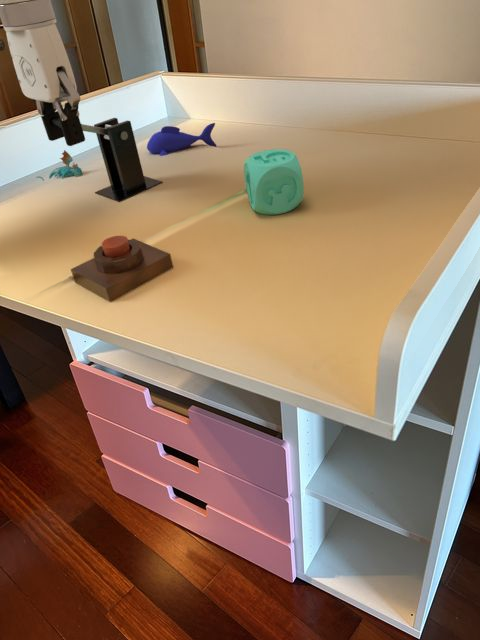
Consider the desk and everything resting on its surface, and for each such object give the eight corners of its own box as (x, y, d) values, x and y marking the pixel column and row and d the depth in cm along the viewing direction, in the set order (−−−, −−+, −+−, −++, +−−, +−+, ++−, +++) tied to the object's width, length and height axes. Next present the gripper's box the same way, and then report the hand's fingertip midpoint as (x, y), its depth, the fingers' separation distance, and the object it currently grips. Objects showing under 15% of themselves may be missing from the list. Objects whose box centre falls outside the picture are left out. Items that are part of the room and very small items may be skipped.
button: (114, 261, 77) (110, 250, 76) (100, 254, 79) (96, 243, 78) (135, 250, 78) (132, 239, 77) (121, 244, 81) (117, 233, 80)
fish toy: (151, 169, 119) (143, 141, 113) (148, 146, 123) (140, 119, 117) (221, 157, 120) (217, 129, 114) (215, 135, 124) (211, 107, 118)
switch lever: (65, 132, 90) (66, 116, 89) (49, 128, 93) (50, 113, 92) (128, 143, 99) (130, 129, 98) (112, 139, 102) (114, 125, 101)
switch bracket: (120, 207, 101) (100, 134, 93) (96, 198, 105) (75, 128, 97) (164, 187, 106) (148, 117, 98) (139, 179, 111) (122, 112, 103)
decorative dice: (247, 200, 97) (241, 154, 92) (292, 191, 98) (288, 145, 93) (257, 219, 91) (251, 170, 86) (305, 209, 92) (302, 160, 87)
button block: (110, 302, 75) (101, 276, 73) (75, 282, 81) (66, 258, 78) (173, 267, 81) (167, 242, 79) (136, 251, 86) (130, 227, 84)
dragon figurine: (46, 188, 109) (77, 161, 110) (26, 167, 112) (57, 141, 113) (62, 206, 115) (92, 181, 116) (44, 186, 118) (73, 162, 119)
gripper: (-22, 19, 85) (22, 140, 96) (32, 21, 75) (74, 156, 86) (23, 9, 89) (61, 127, 100) (80, 10, 79) (115, 141, 90)
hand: (66, 139), depth 93 cm, fingers closed on switch lever, 5 cm apart
